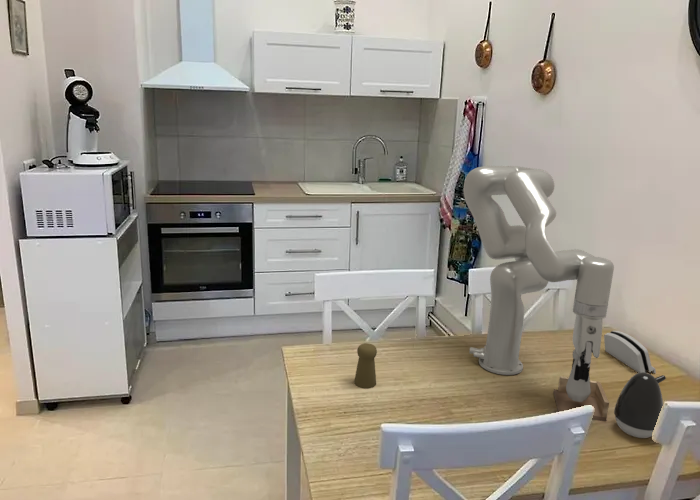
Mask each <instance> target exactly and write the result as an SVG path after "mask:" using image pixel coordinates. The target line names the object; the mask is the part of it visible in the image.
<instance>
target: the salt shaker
mask: <svg viewBox="0 0 700 500" xmlns="http://www.w3.org/2000/svg"><path fill="white" fill-rule="evenodd" d="M581 353H582V354H585V352H581ZM573 358H574V359H575V361H574V364H573V367H572V366H571V370H570V373H569V376H568V377H569V379H568V382H567V385H566V391H567V394H568V397H569V398H570V399H572V400H573V401H578V402H583V401H585V400H587V398H588V397H589V395H590V393H591V389H590V381H591V380H590V379H591V378H590V376H589V377H588V381H587V382H585V380H582V379H579V380H578V381H576V380H574V373H575V367H576V365H577V362H578V354H577V352H576V350H575V349H573V351H572V359H573ZM584 358H585V357H581V360H582V359H584Z"/></svg>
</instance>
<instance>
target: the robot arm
mask: <svg viewBox="0 0 700 500" xmlns="http://www.w3.org/2000/svg"><path fill="white" fill-rule="evenodd" d="M554 190H555V181H554V179H553V177H552V174H550V173H549V172H548V171H546V170H544V169H540V168H538V169H537V168H533V167H532V168H531V167H524V166H518V165H484V166H478V167H476V168H473V169H471V170H470V171H469V172H468V173H467V175H466V177H465V179H464V183H463V197H464V200H465V203H466V205H467V207H468V209H469V211H470V213H471V215H472V217H473V218H474V222H475V225H476V228H477V231H478V233H479V238H480V239H481V243H482V245H483V249H484V251H485V253H486V254H487V256H488V257H489V258H490V259H492V260H499V261H500V260H507V259H514V260H513V261H507V262H503V263H500V264H497V265H496V266H495V267H494V268H493V269H492V270H491V273H490V277H489V280H490V281H489V283H490V306H489V307H490V308H489V309H490V310H489V316H488V317H489V319H488V327H487V336H486V342H485V343H486V344H484V346H483V347H480V348H476V347H472V346H470V347H469V354H470V355H473V358H478V364H479V366H480V367H481V368H482V369H484V370H486V371H487V372H490V373H493V374H497V375H502V376H513V375H518V374H520V373H521V372H522V371H523V370H524V365H523V363H522V361H521V360H520V359H519V357H520V349H521V343H522V341H521V340H522V335H523V327H524V321H525V311H526V310H525V306H524V303H523V300H522V295H525V294H530V293H531V294H532V293H536V292H539V291H542V290H544V289H545V288H546V287H547V286H548V284H549V283H560V282H565V281H575V280H576V287H575V294H574V299H573V305H572V313H573V314H574V315H575V319H574V324H573V325H574V326H573V332H572V345H573V347H574V350H576V352H577V354H578V362H577V365H576V367H575V373H574V380H576V381H578V380H579V379H582V380H585V382H587V381H588V377H590V370H591V363H592V355H593V357H594V358H595V359H598V358H599V357H600V353H601V343H602V336H603V335H602V334H603V319H605V318H607V312H608V305H609V302H610V301H609V300H610V295H611V287H612V282H613V276H614V269H615V265H614V263H613V262H612V261H611V260H610V259H607V258H604V257H601V256H600V257H599V256H595V255H592V254H590V253H589V252H587V251H585V250H583V249H576V248H574V249H567V250H565V249H564V250H556V251H555V250H554V248H553V247H552V245H551V243H550V242H549V240H548V238H547V236H546V227H548V226H549V225H550V224H551V223H552V222H554V220H555V218H556V216H557V211H556V208H555V207H554V206H553V204H552V202H551V201H550V200H549V197H550V196H552V195H553V193H554ZM498 195H499V196H502V195H503V196H505V195H506V197H508V198H507V199H508V200H509V201H510V203H511V204H512V207H513V208H514V209H515V211H516V213H517V214H518V217H519V218H520V219H521V221H522V223H523V224H524V225H511V224H509V222H508V221H507V219H506V216H505V212H504V211H503V208H502V207H501V206H500V204H499V203H498V202H497V201H495V200H494V199H493V197H492V196H498ZM581 352H585V354H582V353H581ZM581 357H585V358H584V359H582V360H581ZM574 361H575V359H574V358H573V357H572V364H571V368H572V367H573V364H574Z"/></svg>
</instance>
